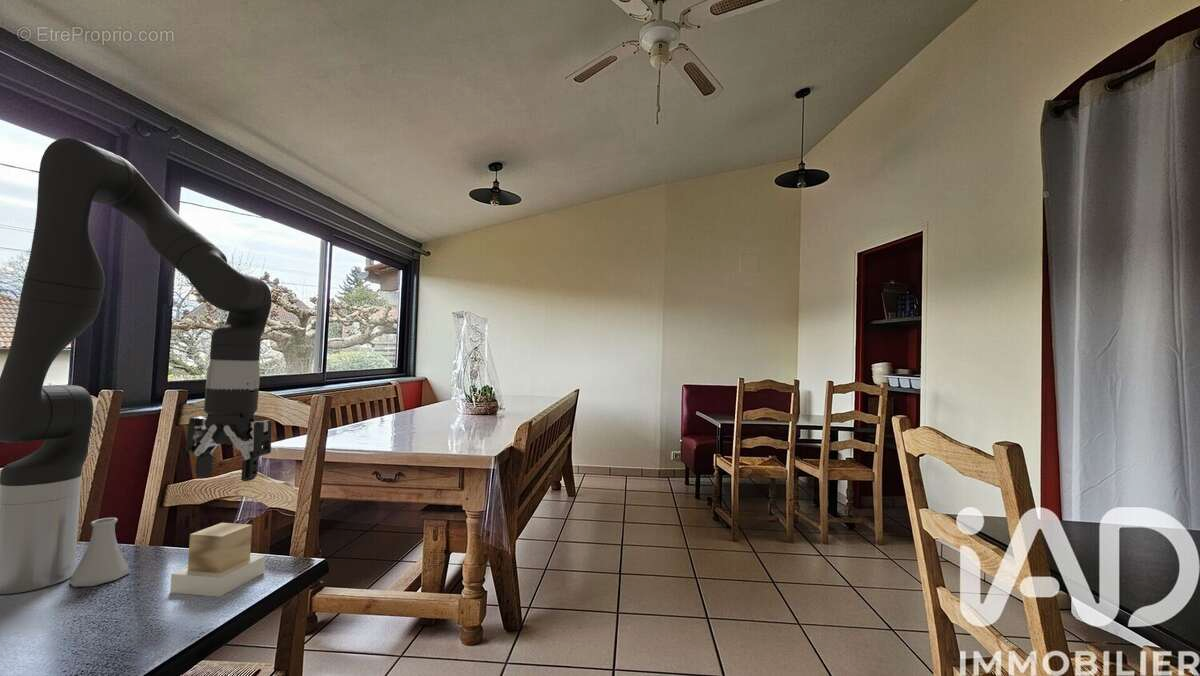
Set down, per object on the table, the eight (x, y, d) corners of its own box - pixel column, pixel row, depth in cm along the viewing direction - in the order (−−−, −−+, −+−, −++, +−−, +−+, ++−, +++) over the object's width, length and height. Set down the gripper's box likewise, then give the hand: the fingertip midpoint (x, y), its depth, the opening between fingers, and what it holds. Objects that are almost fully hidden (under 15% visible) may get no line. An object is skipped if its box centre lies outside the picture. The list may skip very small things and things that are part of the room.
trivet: (170, 592, 79) (171, 573, 79) (219, 569, 88) (220, 552, 88) (219, 596, 78) (220, 577, 78) (264, 573, 87) (265, 556, 87)
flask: (90, 590, 79) (94, 529, 80) (57, 585, 81) (62, 525, 81) (140, 572, 87) (143, 515, 87) (109, 567, 88) (113, 512, 89)
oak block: (187, 570, 81) (190, 534, 81) (219, 556, 87) (221, 522, 87) (220, 573, 80) (222, 536, 80) (250, 558, 86) (252, 524, 86)
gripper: (176, 385, 82) (168, 481, 81) (252, 388, 81) (245, 486, 80) (215, 383, 90) (209, 471, 89) (286, 386, 88) (280, 476, 87)
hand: (226, 478), depth 84 cm, fingers open, 8 cm apart
